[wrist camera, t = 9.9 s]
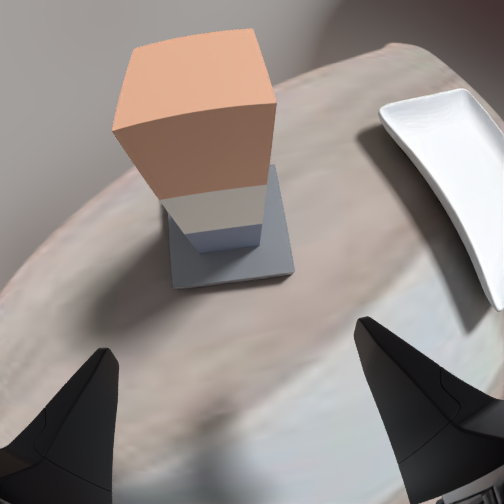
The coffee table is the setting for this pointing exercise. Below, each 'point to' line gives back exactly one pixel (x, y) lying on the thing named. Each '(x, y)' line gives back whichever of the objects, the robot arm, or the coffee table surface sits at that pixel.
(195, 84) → the brick stack
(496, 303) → the salad plate
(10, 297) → the coffee table surface
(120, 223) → the coffee table surface
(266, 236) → the baseplate
